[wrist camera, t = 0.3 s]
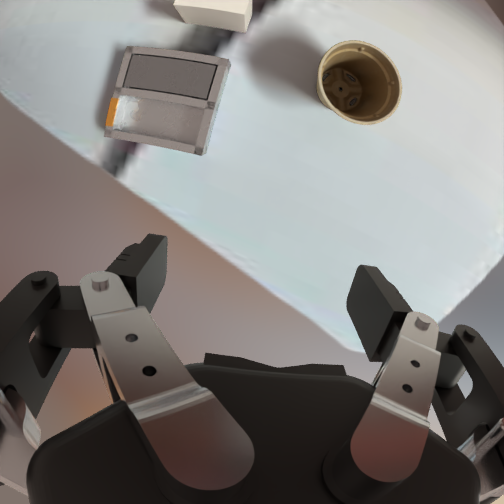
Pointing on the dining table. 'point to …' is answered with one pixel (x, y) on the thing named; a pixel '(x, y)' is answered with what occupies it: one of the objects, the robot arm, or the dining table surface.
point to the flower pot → (359, 82)
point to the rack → (167, 98)
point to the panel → (216, 13)
